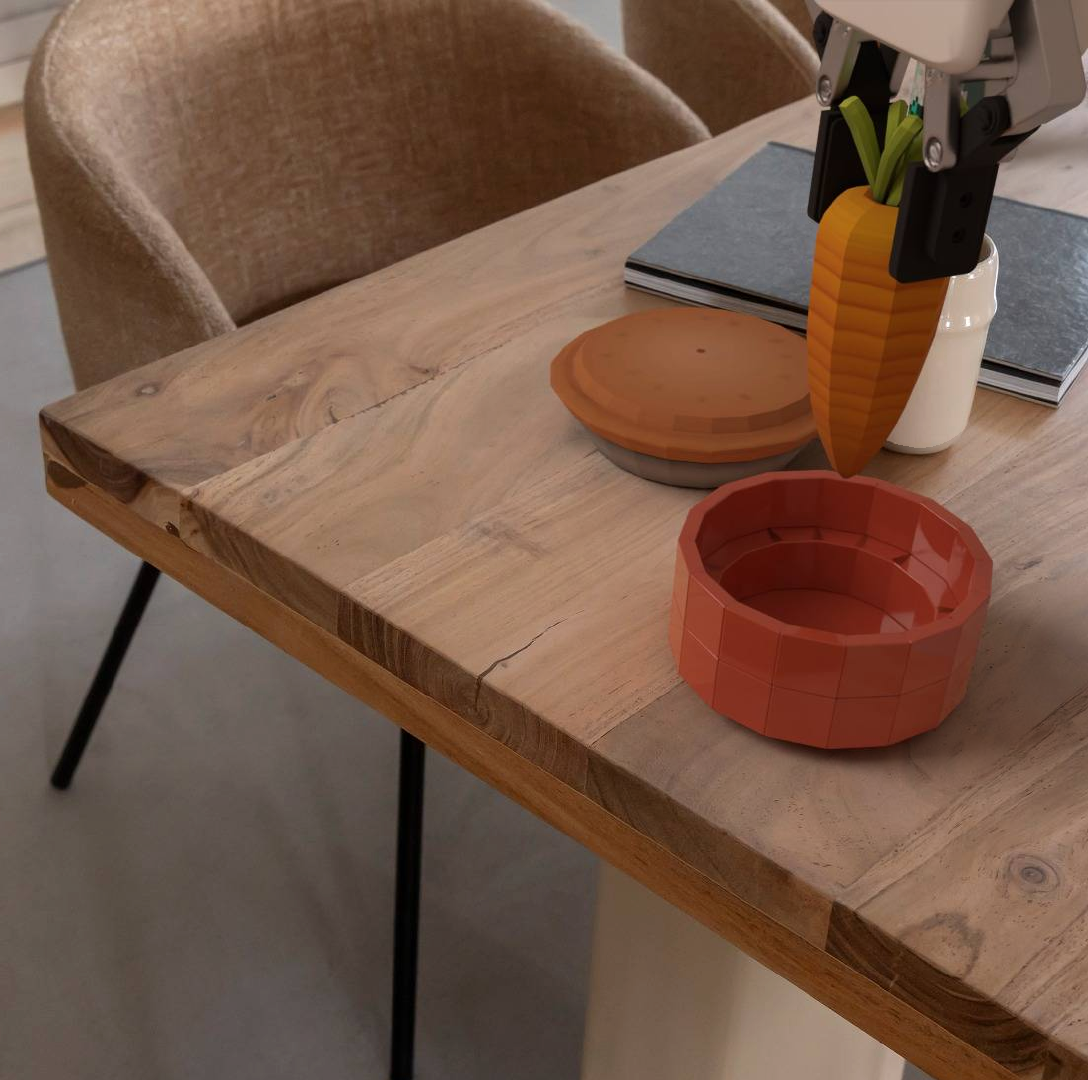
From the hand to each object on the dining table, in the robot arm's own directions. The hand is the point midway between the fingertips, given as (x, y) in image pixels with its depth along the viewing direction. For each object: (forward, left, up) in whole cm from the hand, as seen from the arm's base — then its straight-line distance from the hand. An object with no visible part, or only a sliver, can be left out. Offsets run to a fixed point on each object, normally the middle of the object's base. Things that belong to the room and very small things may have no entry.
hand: (888, 240), depth 51 cm
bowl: (0, 0, -19) cm, 19 cm away
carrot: (0, 0, -10) cm, 10 cm away
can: (-63, -25, -19) cm, 70 cm away
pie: (-13, -15, -19) cm, 28 cm away
